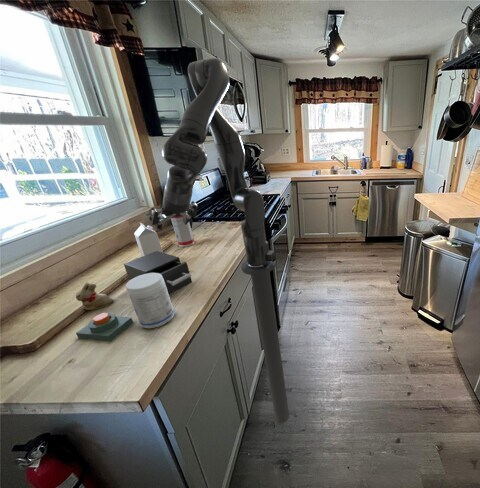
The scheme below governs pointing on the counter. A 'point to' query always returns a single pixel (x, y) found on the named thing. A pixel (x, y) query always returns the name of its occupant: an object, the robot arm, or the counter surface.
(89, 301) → the chocolate bunny
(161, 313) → the supplement tub
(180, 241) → the spray bottle
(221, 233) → the counter surface
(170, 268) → the drawer
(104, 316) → the button
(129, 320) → the block
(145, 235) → the milk carton
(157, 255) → the small drawer cabinet
